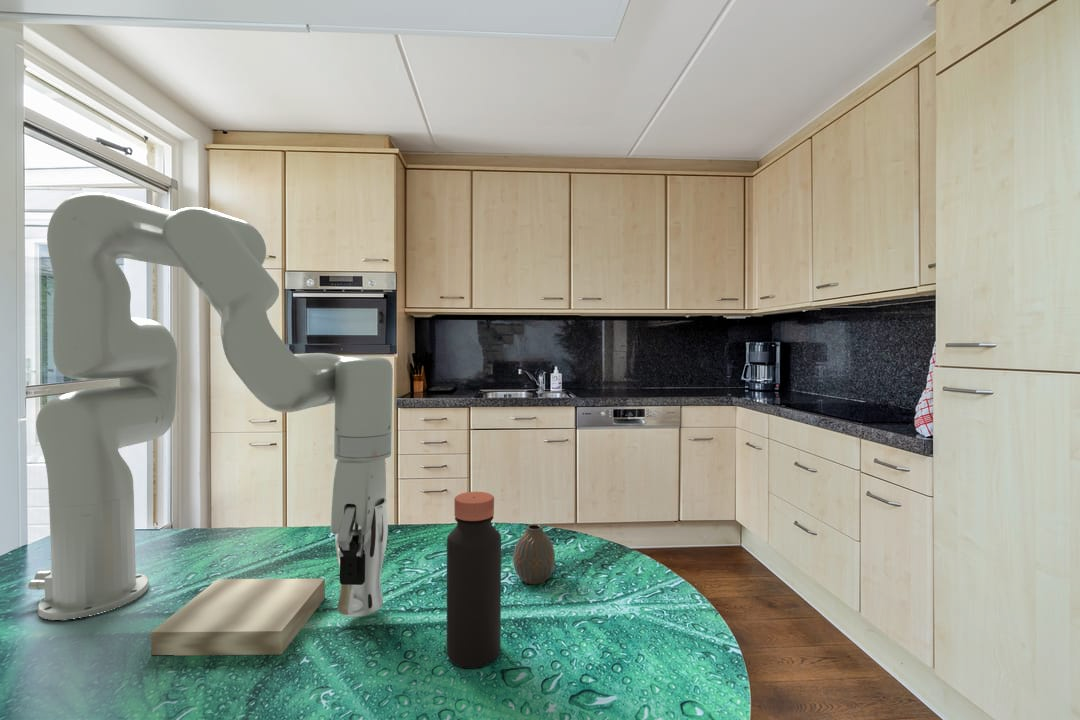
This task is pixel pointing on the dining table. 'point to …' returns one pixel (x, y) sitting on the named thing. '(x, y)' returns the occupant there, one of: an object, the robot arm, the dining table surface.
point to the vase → (534, 555)
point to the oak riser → (240, 618)
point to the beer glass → (367, 569)
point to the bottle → (473, 583)
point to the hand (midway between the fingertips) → (361, 569)
